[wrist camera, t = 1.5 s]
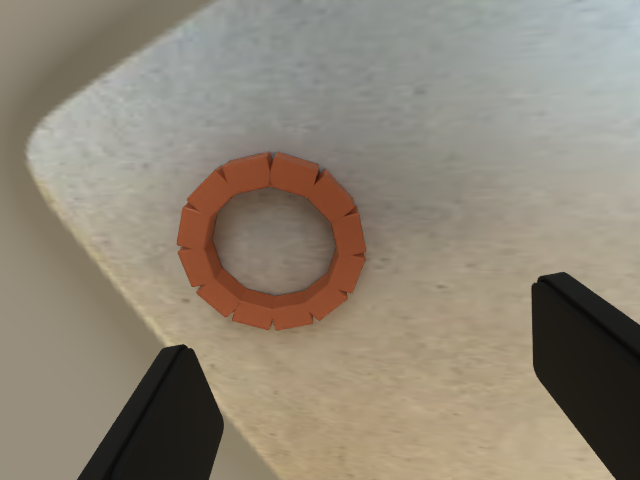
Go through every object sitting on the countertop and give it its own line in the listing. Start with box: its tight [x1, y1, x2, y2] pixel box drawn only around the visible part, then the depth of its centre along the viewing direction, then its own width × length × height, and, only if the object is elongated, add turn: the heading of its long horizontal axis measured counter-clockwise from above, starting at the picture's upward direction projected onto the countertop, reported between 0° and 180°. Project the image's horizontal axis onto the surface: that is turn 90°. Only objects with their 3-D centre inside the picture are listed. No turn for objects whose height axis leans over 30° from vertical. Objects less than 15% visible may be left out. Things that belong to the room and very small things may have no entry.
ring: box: [177, 152, 366, 330], centre depth 17 cm, size 9×9×1 cm
